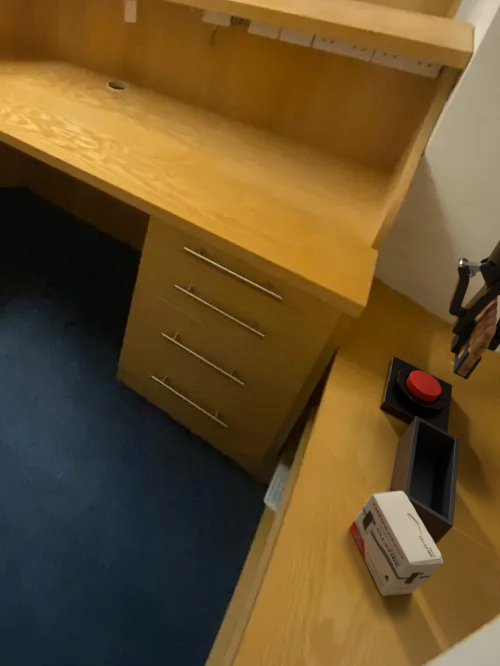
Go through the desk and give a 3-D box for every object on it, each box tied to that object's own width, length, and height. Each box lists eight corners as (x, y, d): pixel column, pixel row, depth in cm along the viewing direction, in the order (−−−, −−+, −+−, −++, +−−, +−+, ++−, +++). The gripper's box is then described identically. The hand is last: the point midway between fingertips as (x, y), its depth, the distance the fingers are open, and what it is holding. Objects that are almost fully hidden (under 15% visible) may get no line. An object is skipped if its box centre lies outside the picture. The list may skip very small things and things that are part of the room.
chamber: (439, 464, 88) (459, 439, 84) (429, 550, 78) (453, 526, 73) (398, 441, 91) (416, 415, 87) (384, 520, 81) (403, 496, 76)
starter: (389, 362, 104) (396, 350, 102) (447, 391, 99) (456, 379, 97) (379, 408, 96) (387, 396, 94) (442, 442, 91) (451, 430, 89)
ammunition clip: (458, 328, 88) (490, 280, 82) (471, 333, 87) (504, 286, 81) (452, 373, 81) (487, 325, 75) (467, 380, 80) (503, 332, 74)
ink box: (347, 526, 80) (372, 491, 74) (376, 523, 81) (404, 488, 74) (381, 597, 73) (412, 565, 67) (413, 594, 73) (447, 561, 67)
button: (407, 371, 99) (411, 365, 98) (438, 386, 96) (442, 380, 95) (404, 391, 95) (408, 384, 94) (435, 407, 93) (440, 401, 92)
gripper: (469, 239, 73) (407, 342, 85) (611, 292, 65) (521, 397, 77) (472, 212, 78) (414, 312, 90) (604, 258, 70) (520, 361, 82)
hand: (463, 351), depth 84 cm, fingers closed on ammunition clip, 2 cm apart
